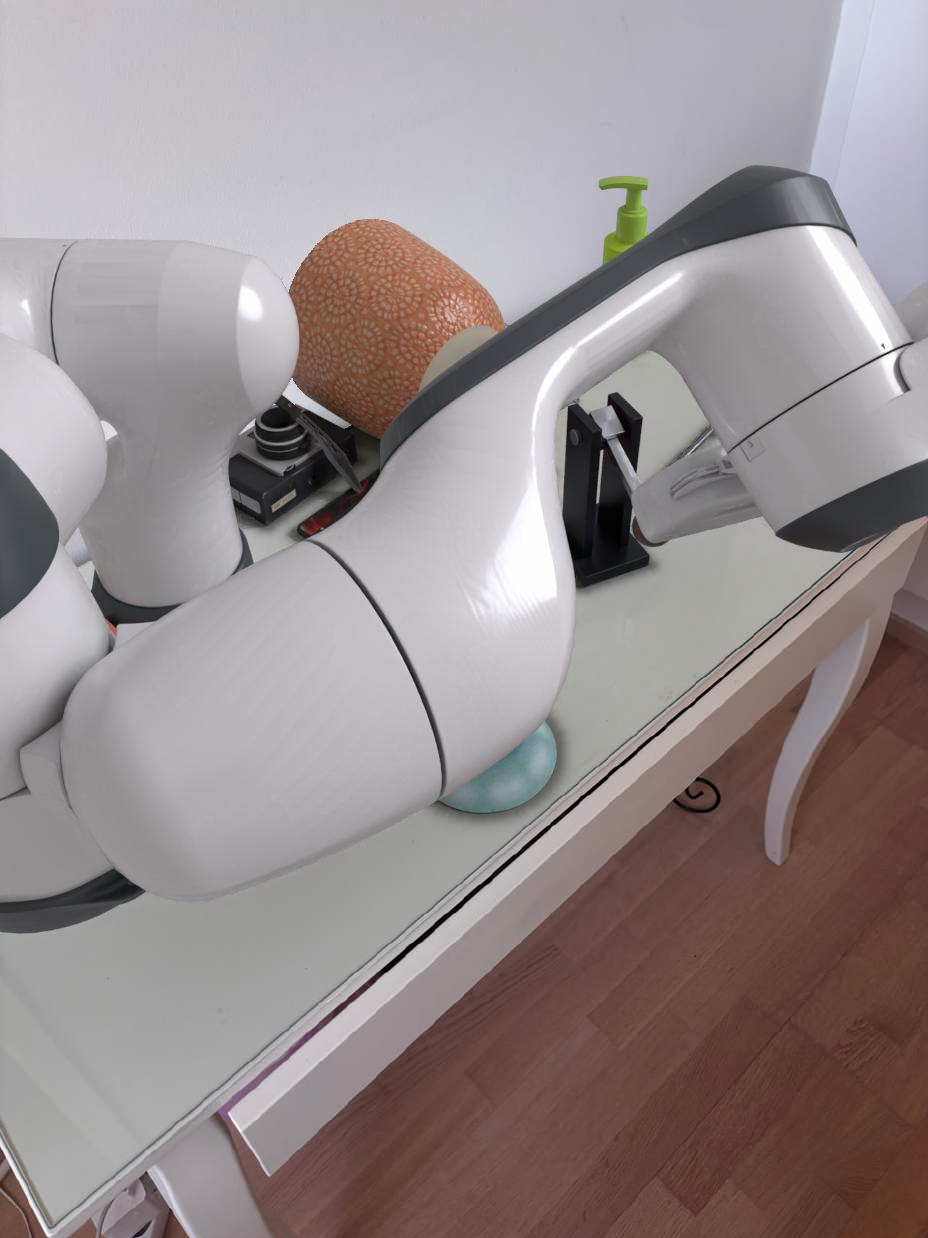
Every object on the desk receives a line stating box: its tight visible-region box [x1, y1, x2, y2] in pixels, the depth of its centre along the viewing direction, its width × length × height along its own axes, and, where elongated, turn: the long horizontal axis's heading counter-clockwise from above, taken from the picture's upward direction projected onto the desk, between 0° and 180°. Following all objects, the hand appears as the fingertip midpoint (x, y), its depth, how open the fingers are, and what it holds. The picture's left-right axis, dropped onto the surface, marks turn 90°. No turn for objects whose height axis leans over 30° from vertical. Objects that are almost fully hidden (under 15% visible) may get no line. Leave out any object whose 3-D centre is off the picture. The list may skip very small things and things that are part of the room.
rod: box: [673, 426, 715, 463], centre depth 106 cm, size 1×19×1 cm, turn 142°
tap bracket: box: [561, 391, 651, 588], centre depth 91 cm, size 9×7×16 cm
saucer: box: [438, 720, 558, 814], centre depth 79 cm, size 12×12×2 cm
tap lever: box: [587, 405, 670, 548], centre depth 85 cm, size 13×4×4 cm, turn 24°
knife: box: [273, 394, 363, 493], centre depth 100 cm, size 16×1×3 cm
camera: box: [228, 403, 359, 526], centre depth 103 cm, size 14×9×10 cm
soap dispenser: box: [598, 175, 650, 266], centre depth 116 cm, size 6×7×20 cm
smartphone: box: [296, 467, 380, 539], centre depth 101 cm, size 7×1×15 cm
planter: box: [288, 219, 506, 441], centre depth 105 cm, size 21×21×19 cm
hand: (719, 516), depth 71 cm, fingers closed
